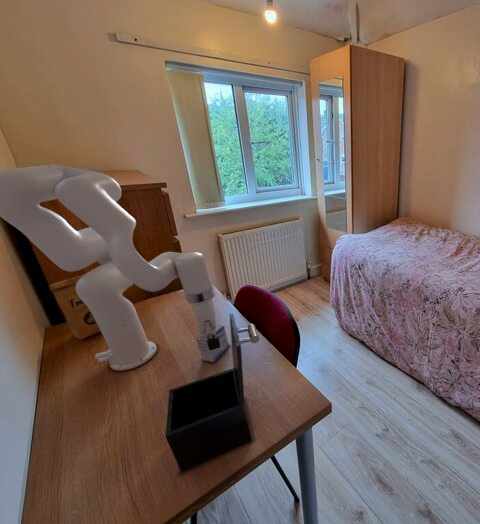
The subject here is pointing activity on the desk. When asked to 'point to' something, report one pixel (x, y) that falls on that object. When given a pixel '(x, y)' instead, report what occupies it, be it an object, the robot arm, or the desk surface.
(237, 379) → the bin lid
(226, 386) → the bin
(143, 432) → the desk surface
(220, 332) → the medicine box
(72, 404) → the desk surface
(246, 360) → the desk surface
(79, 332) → the coffee package
